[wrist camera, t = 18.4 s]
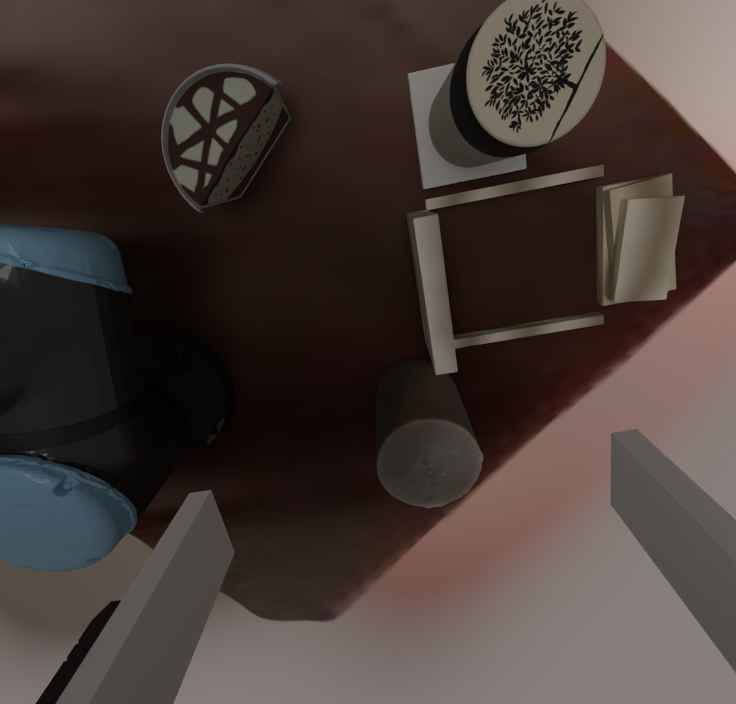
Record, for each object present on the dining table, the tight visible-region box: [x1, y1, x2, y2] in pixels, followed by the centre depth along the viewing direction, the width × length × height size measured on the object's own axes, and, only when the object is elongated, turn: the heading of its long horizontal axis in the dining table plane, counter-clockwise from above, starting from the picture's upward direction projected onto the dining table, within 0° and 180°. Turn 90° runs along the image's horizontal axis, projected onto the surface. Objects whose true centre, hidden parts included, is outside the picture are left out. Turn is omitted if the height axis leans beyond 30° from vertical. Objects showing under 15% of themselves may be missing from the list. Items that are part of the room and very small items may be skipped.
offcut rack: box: [406, 165, 685, 375], centre depth 41 cm, size 26×16×10 cm, turn 101°
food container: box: [161, 64, 292, 213], centre depth 37 cm, size 12×6×10 cm, turn 142°
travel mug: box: [428, 0, 606, 168], centre depth 32 cm, size 8×8×18 cm
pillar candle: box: [376, 360, 484, 508], centre depth 44 cm, size 10×10×15 cm
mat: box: [408, 63, 526, 189], centre depth 41 cm, size 10×10×1 cm
